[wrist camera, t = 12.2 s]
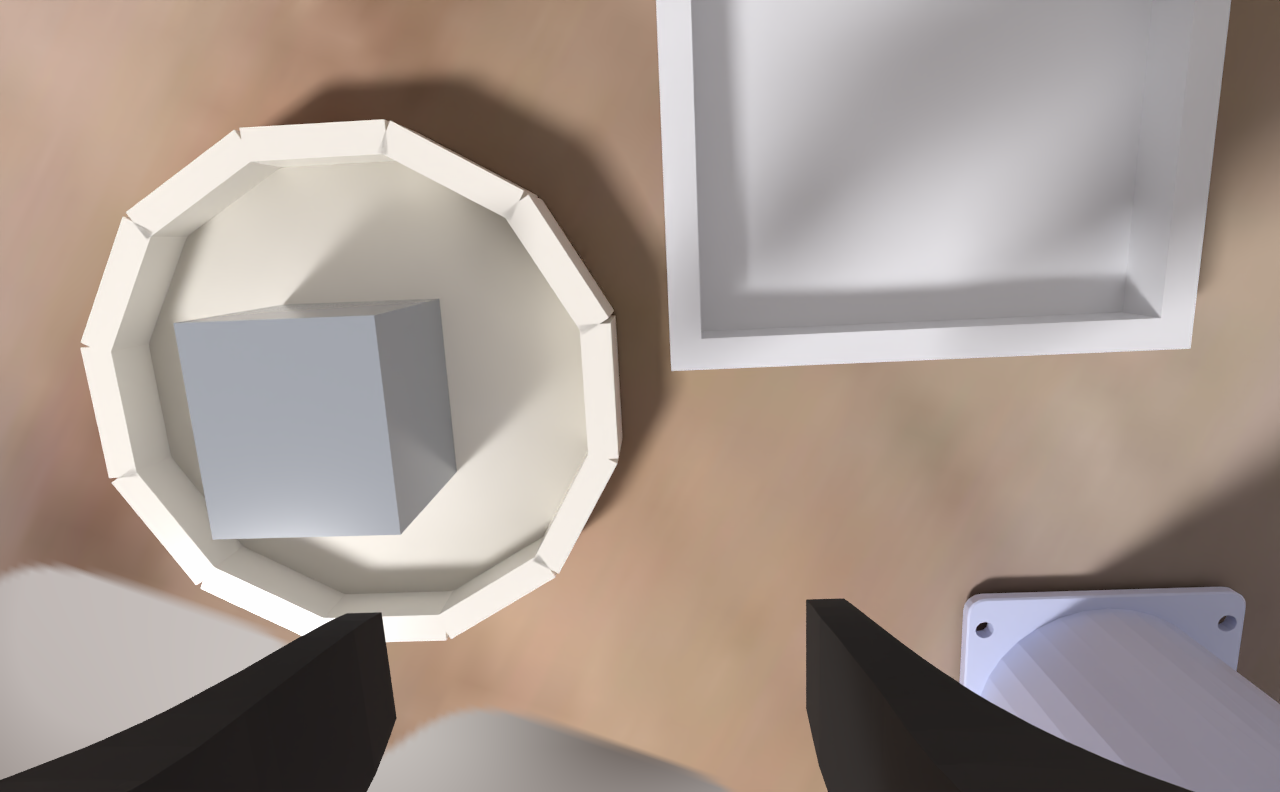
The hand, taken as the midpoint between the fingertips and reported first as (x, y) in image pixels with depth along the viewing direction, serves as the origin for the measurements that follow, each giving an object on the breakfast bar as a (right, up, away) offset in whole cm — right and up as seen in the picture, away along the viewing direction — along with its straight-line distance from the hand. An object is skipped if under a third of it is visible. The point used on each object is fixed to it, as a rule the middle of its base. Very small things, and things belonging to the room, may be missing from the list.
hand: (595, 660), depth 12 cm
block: (-7, +5, +8) cm, 12 cm away
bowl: (-7, +5, +9) cm, 12 cm away
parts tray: (+8, +12, +7) cm, 16 cm away
